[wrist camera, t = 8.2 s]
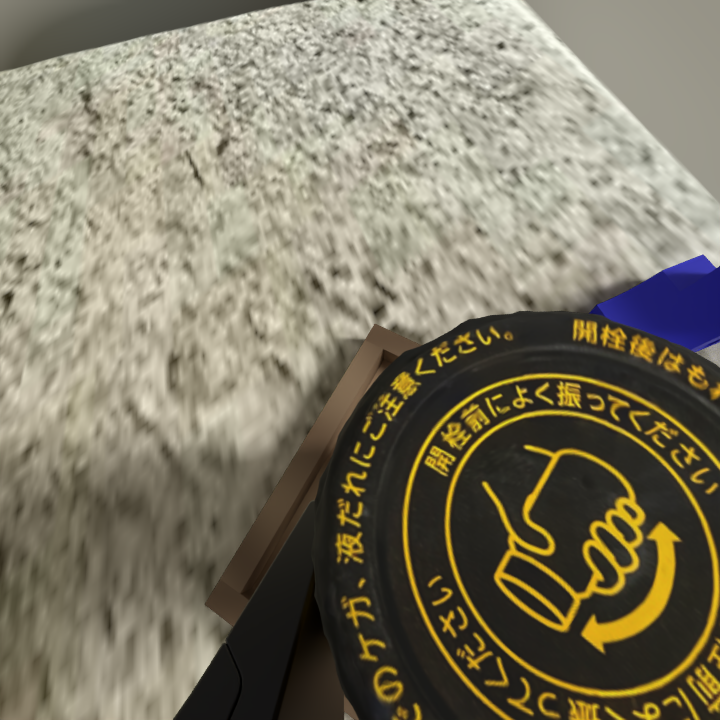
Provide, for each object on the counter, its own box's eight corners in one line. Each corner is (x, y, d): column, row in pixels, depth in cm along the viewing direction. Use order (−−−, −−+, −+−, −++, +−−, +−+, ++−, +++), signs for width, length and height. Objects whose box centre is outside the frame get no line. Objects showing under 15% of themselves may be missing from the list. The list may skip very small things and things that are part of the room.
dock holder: (536, 829, 16) (557, 874, 14) (223, 596, 20) (204, 604, 18) (647, 467, 21) (674, 462, 19) (376, 339, 25) (374, 323, 23)
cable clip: (669, 283, 25) (746, 216, 20) (719, 342, 23) (819, 286, 18) (499, 351, 24) (529, 300, 19) (537, 416, 23) (583, 382, 17)
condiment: (351, 439, 16) (259, 253, 5) (564, 433, 16) (979, 208, 5) (352, 653, 13) (147, 1270, 2) (612, 657, 13) (2046, 1523, 2)
